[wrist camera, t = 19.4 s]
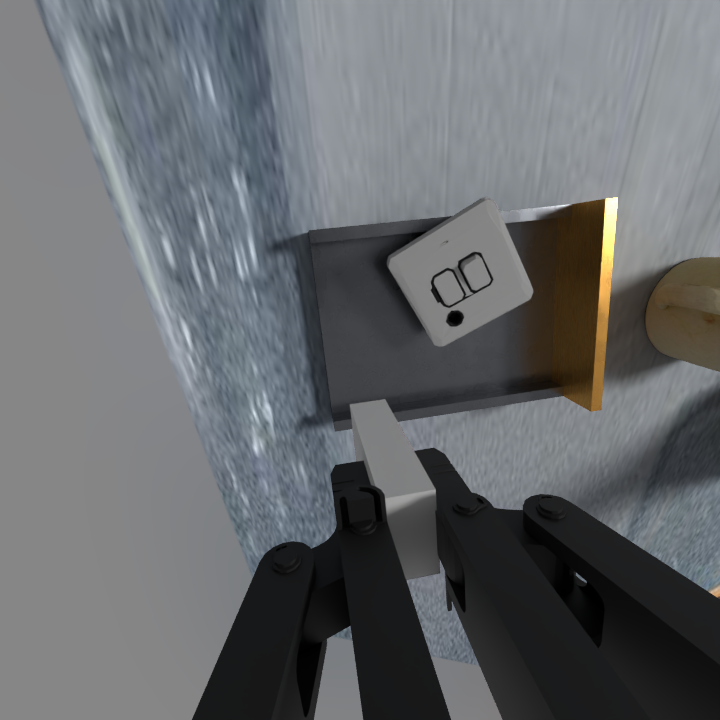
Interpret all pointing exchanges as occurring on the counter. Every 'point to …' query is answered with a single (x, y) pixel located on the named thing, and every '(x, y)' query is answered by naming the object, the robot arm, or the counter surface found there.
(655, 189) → the counter surface
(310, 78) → the counter surface
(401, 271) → the electrical switch
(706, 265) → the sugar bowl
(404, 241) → the drawer
